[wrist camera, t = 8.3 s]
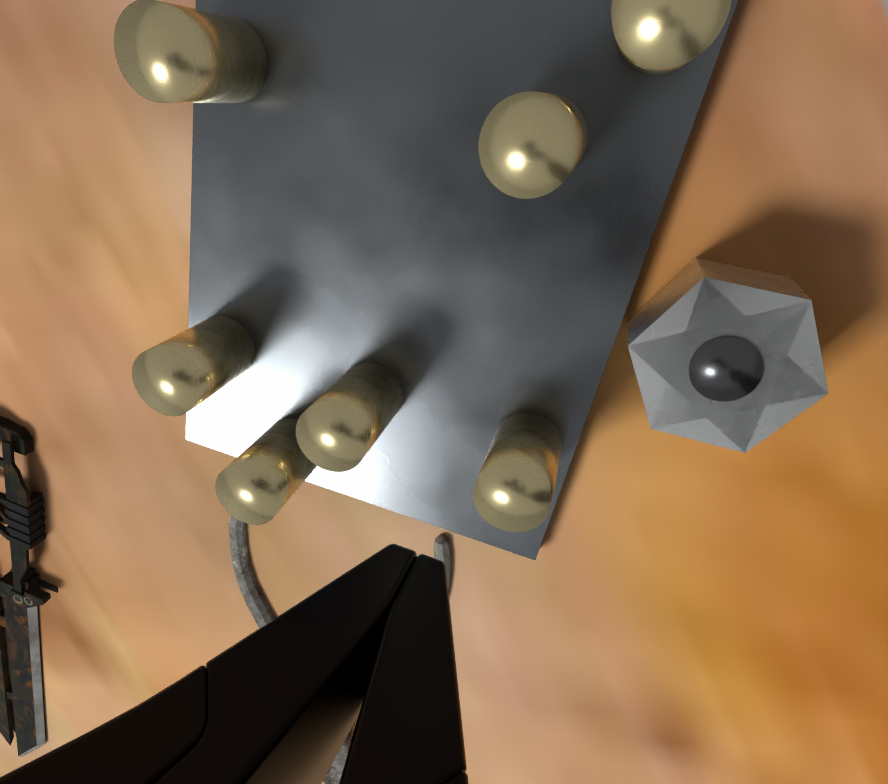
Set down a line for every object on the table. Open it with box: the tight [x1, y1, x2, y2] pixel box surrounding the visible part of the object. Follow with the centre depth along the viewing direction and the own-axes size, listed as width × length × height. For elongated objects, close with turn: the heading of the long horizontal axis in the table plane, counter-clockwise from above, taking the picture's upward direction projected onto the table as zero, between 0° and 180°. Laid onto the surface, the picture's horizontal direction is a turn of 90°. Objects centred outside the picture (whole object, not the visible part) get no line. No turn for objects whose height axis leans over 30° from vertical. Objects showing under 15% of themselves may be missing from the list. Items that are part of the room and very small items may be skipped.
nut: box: [628, 258, 828, 453], centre depth 18 cm, size 5×4×2 cm
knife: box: [0, 416, 58, 757], centre depth 33 cm, size 25×6×1 cm, turn 160°
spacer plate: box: [114, 0, 738, 560], centre depth 18 cm, size 14×18×4 cm
